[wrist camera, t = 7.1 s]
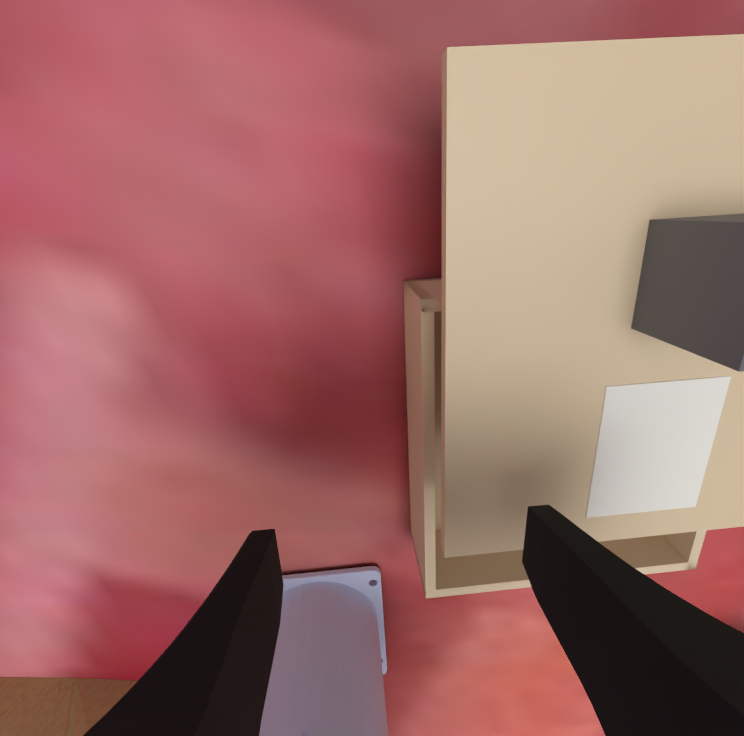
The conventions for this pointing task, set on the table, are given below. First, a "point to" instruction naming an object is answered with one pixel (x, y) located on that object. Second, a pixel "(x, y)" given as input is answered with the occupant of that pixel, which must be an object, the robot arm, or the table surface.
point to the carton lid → (592, 288)
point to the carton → (426, 476)
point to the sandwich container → (56, 704)
